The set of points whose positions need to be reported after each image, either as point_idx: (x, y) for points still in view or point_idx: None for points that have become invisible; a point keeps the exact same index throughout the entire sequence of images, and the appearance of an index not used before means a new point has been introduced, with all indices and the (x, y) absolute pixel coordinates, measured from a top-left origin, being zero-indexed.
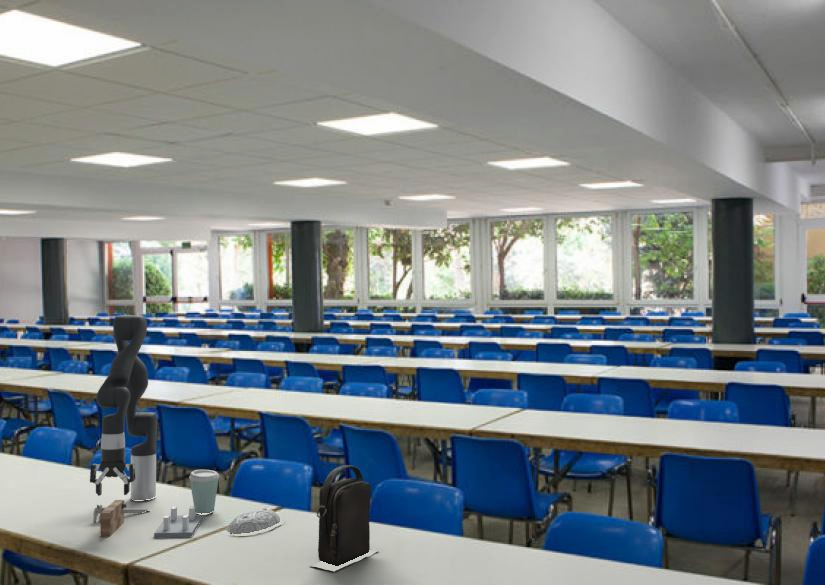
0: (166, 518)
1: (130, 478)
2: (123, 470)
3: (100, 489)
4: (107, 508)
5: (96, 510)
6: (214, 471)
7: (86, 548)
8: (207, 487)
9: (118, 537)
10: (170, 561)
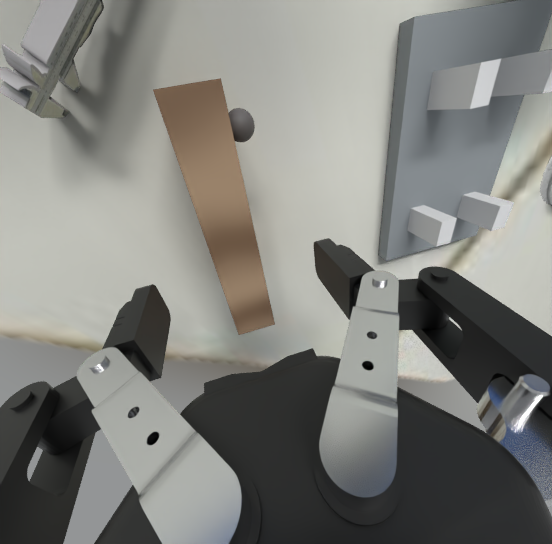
0: (443, 243)
1: (428, 340)
2: (413, 400)
3: (158, 329)
4: (230, 281)
5: (34, 106)
6: None
7: (247, 350)
8: None
9: (284, 272)
10: (420, 351)
